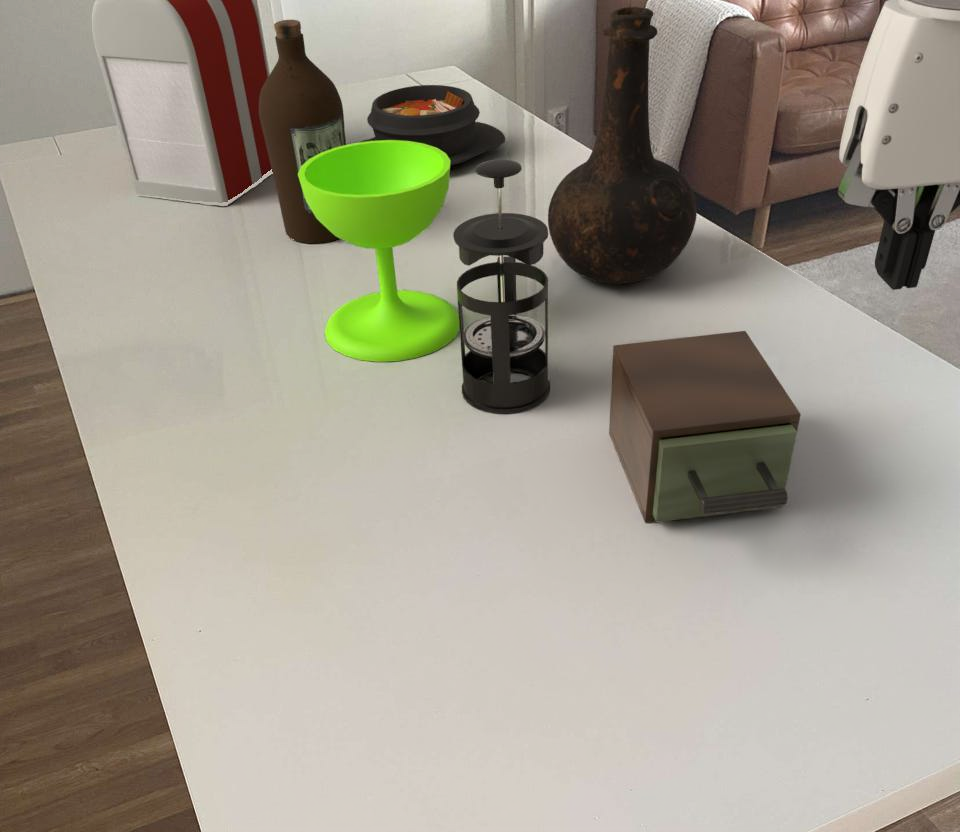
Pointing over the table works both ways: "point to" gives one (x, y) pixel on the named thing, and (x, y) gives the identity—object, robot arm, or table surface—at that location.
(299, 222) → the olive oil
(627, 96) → the glass bottle
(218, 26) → the tissue box
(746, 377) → the cabinet
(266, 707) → the table surface
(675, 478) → the drawer
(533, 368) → the french press
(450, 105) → the casserole
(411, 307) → the wineglass
